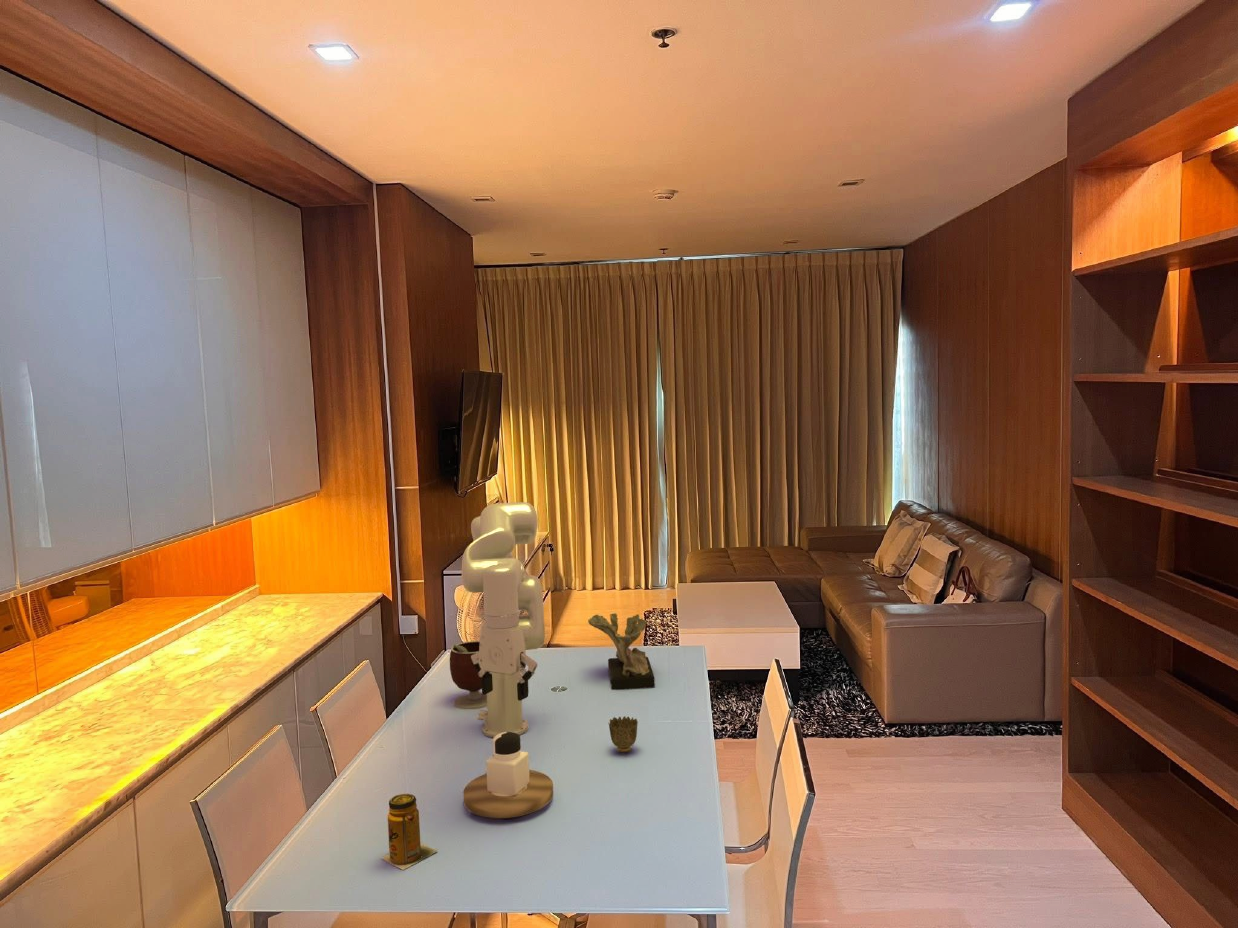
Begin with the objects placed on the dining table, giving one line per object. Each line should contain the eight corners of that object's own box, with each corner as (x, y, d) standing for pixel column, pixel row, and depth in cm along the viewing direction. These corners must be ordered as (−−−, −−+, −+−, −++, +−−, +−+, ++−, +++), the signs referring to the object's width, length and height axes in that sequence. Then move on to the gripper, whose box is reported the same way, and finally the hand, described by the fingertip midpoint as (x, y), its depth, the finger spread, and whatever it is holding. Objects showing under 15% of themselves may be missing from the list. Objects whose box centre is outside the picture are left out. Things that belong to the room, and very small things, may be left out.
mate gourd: (469, 691, 264) (466, 629, 263) (506, 697, 258) (503, 633, 257) (438, 708, 251) (435, 642, 249) (476, 714, 244) (473, 647, 243)
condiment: (380, 858, 166) (377, 800, 166) (416, 841, 173) (413, 784, 172) (402, 870, 162) (399, 810, 161) (438, 852, 168) (435, 794, 167)
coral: (655, 691, 259) (653, 623, 257) (589, 694, 258) (587, 626, 257) (650, 667, 284) (648, 604, 282) (590, 669, 283) (588, 606, 282)
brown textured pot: (635, 758, 210) (634, 727, 209) (606, 756, 212) (605, 725, 211) (640, 746, 217) (639, 716, 217) (613, 744, 219) (612, 715, 218)
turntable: (548, 817, 178) (547, 789, 178) (454, 818, 179) (453, 791, 179) (557, 775, 198) (556, 751, 198) (473, 777, 199) (472, 753, 198)
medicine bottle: (530, 782, 191) (528, 730, 190) (515, 796, 184) (513, 742, 183) (502, 778, 193) (500, 727, 192) (486, 791, 187) (484, 739, 186)
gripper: (460, 620, 187) (463, 695, 188) (524, 628, 179) (527, 706, 180) (480, 613, 194) (484, 685, 195) (543, 619, 186) (546, 695, 187)
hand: (505, 695), depth 188 cm, fingers open, 9 cm apart
